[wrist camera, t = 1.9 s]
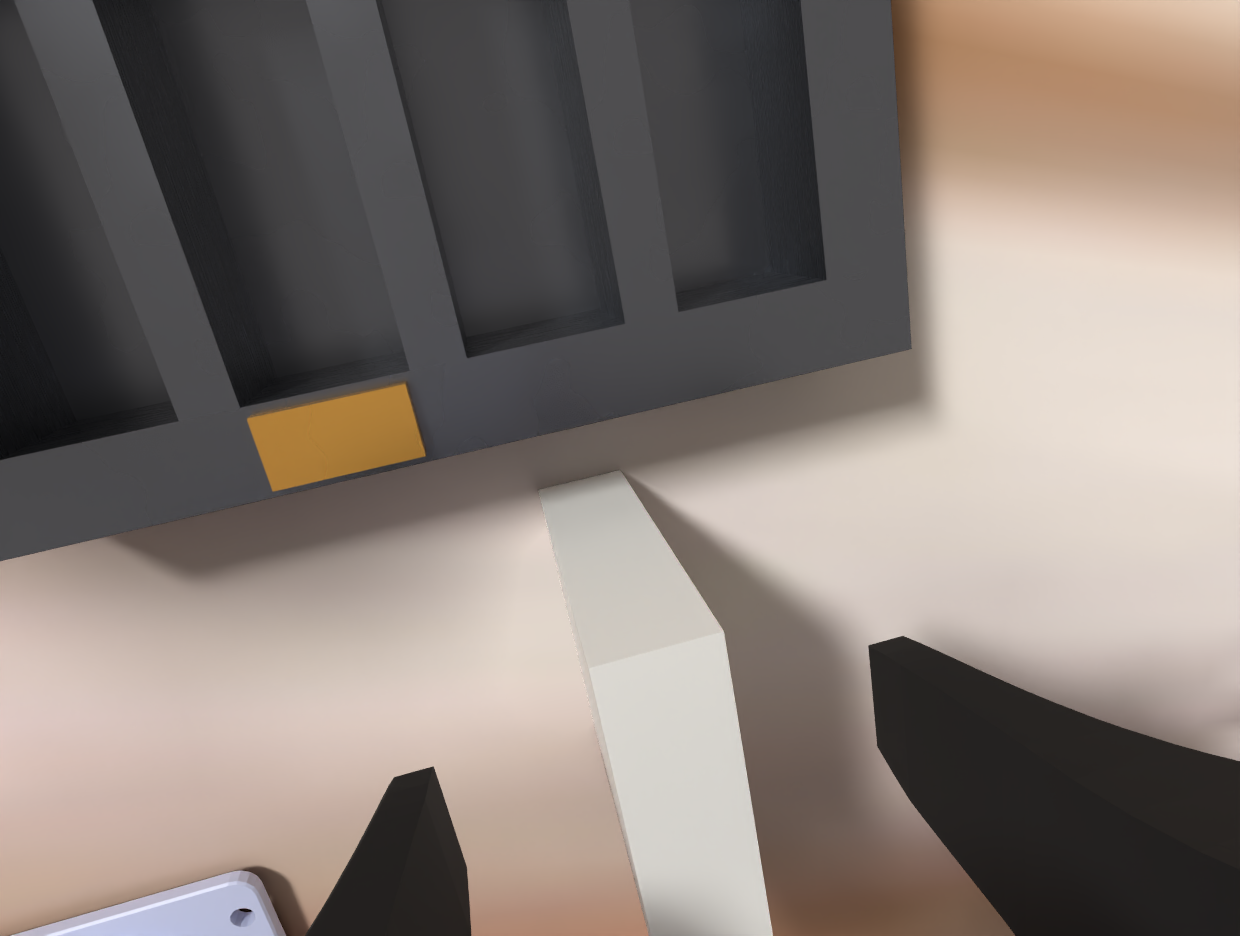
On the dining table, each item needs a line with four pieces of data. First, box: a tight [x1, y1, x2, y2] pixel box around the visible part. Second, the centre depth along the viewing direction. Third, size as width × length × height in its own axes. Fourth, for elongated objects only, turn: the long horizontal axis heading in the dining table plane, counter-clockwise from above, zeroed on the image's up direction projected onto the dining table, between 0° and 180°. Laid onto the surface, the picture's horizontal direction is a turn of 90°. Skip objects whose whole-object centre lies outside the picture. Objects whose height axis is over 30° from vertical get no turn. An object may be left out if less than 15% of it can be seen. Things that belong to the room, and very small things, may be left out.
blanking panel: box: [538, 470, 773, 936], centre depth 14 cm, size 6×2×7 cm, turn 11°
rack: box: [0, 0, 911, 561], centre depth 12 cm, size 10×16×3 cm, turn 101°
